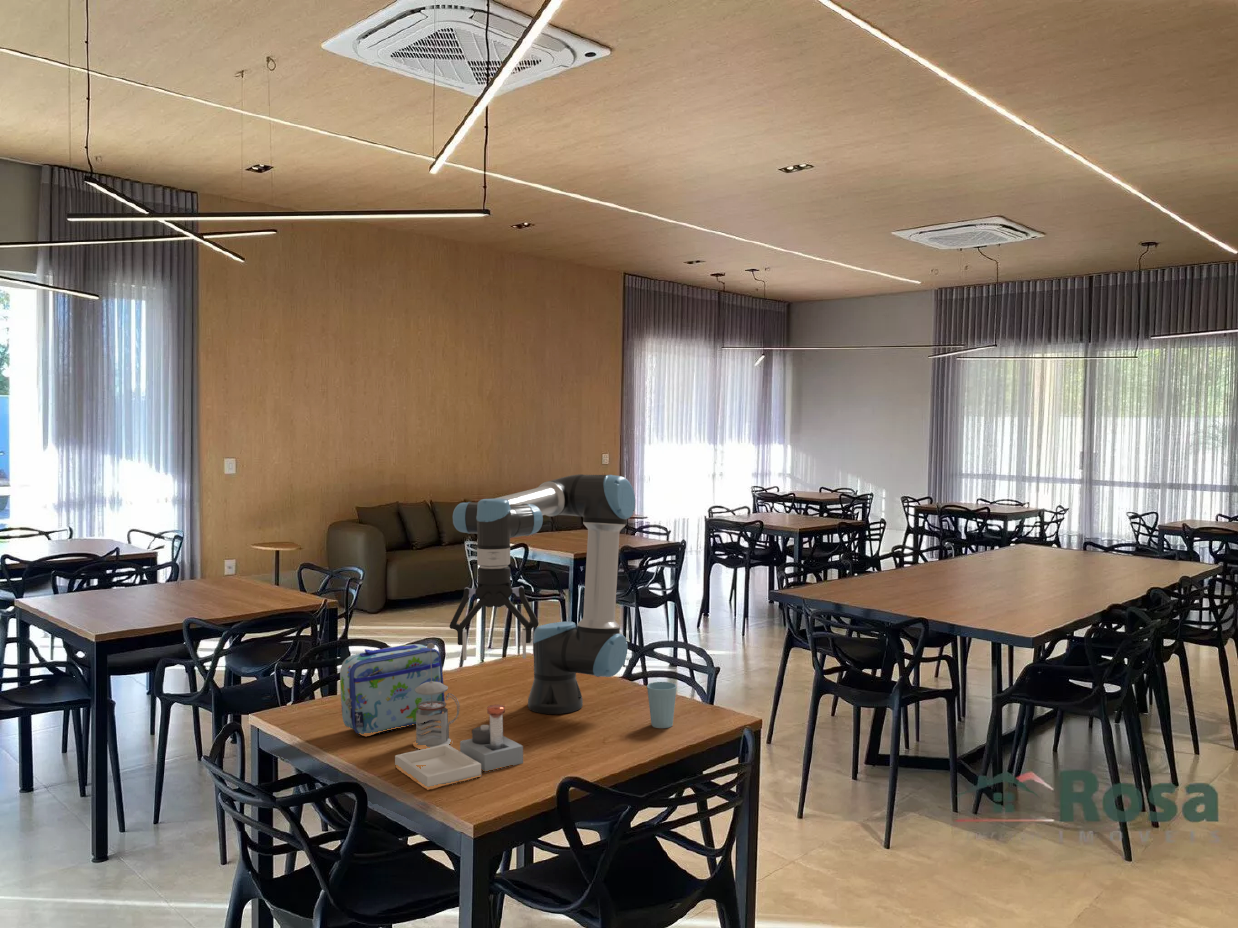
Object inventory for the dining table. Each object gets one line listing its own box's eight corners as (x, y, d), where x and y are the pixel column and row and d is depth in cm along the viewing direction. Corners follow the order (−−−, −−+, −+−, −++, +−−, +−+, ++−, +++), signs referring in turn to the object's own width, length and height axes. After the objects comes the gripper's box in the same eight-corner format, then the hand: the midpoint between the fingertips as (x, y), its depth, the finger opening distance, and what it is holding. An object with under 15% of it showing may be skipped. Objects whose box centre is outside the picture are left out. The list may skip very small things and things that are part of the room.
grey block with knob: (460, 757, 226) (459, 726, 226) (497, 749, 232) (497, 718, 232) (484, 772, 217) (484, 740, 216) (523, 762, 223) (522, 731, 222)
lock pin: (485, 762, 223) (484, 706, 222) (500, 759, 225) (499, 703, 225) (493, 767, 220) (492, 710, 219) (508, 763, 222) (507, 707, 222)
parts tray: (395, 768, 220) (395, 755, 220) (446, 756, 228) (446, 743, 227) (427, 790, 206) (427, 776, 206) (481, 777, 214) (481, 763, 214)
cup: (682, 727, 248) (681, 687, 247) (655, 731, 245) (655, 690, 244) (668, 719, 255) (668, 680, 254) (642, 723, 252) (642, 683, 251)
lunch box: (352, 742, 238) (350, 658, 237) (337, 731, 247) (335, 650, 246) (448, 722, 254) (446, 643, 253) (430, 712, 262) (429, 636, 261)
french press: (417, 737, 242) (415, 638, 241) (463, 737, 242) (461, 638, 240) (407, 750, 232) (405, 647, 231) (455, 750, 232) (453, 647, 231)
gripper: (437, 569, 215) (438, 663, 216) (549, 567, 218) (549, 660, 219) (439, 565, 223) (440, 655, 224) (547, 562, 226) (548, 652, 226)
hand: (494, 658), depth 221 cm, fingers open, 13 cm apart
